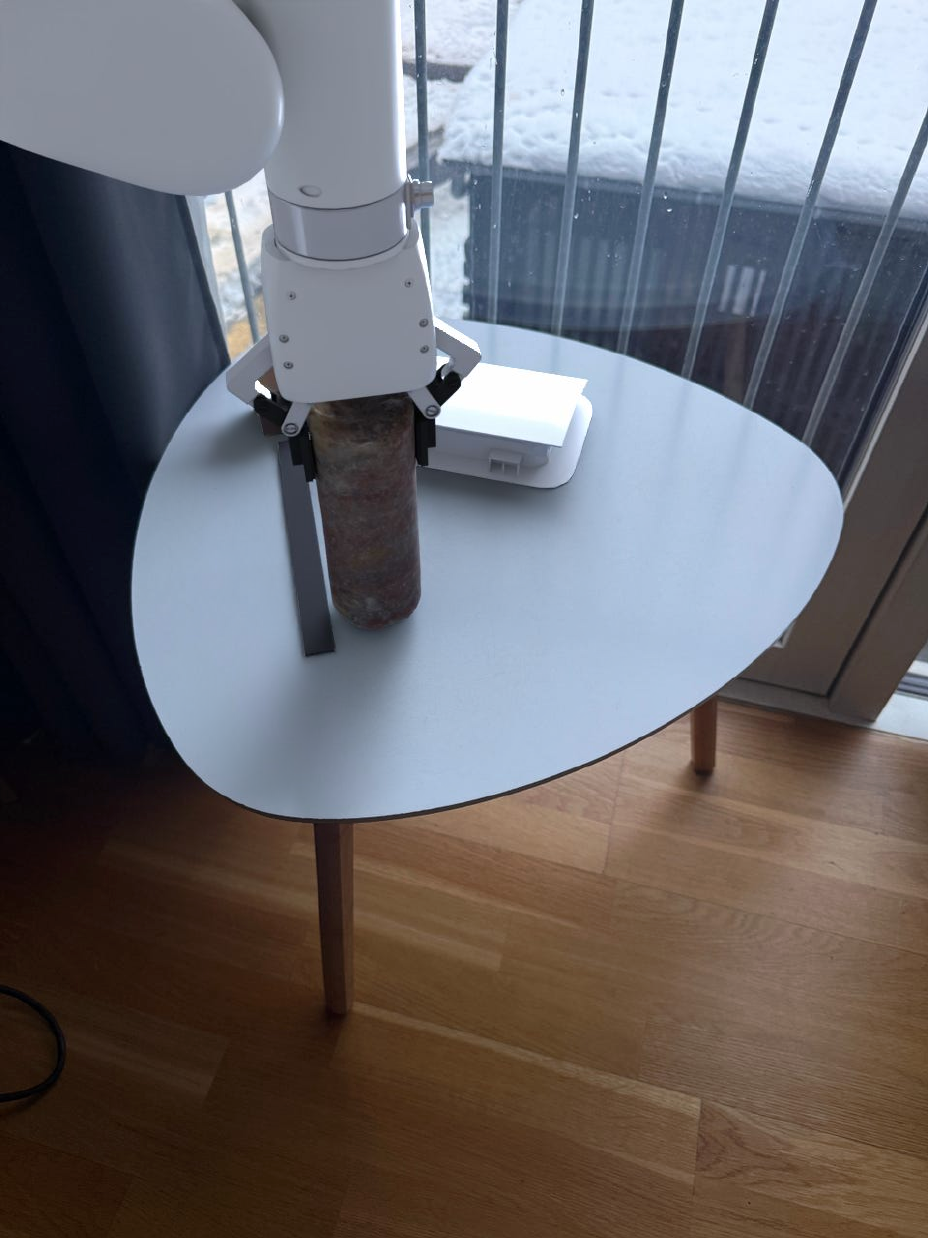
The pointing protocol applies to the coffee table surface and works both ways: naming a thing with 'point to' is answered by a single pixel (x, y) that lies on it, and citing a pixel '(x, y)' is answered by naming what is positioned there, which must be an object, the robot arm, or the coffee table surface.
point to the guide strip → (305, 557)
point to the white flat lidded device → (512, 426)
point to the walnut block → (271, 382)
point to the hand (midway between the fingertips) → (364, 460)
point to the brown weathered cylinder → (368, 505)
